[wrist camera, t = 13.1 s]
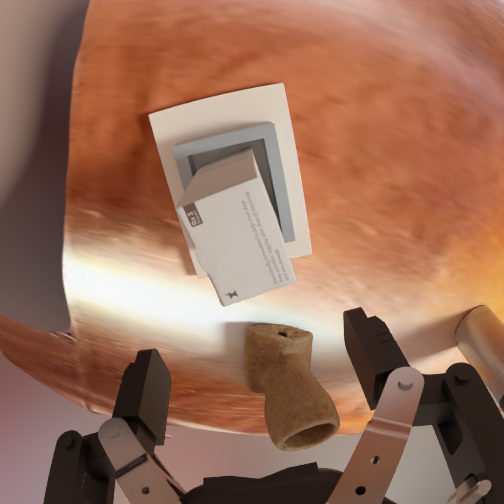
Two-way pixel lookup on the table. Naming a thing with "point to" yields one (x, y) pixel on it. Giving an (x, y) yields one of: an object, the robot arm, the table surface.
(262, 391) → the tan flared vase
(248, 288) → the skincare box
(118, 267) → the table surface
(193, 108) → the socket board
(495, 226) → the table surface
